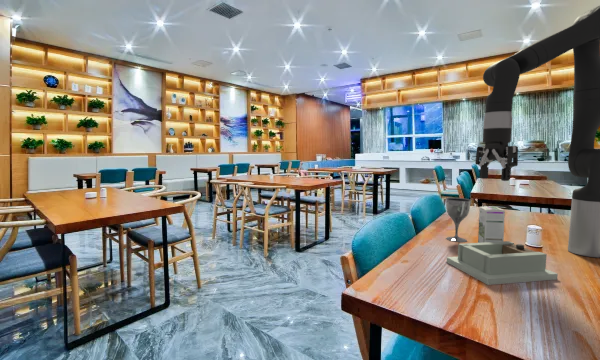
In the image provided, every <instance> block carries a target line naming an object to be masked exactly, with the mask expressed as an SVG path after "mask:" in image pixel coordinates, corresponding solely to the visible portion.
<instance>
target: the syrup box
mask: <svg viewBox="0 0 600 360" xmlns="http://www.w3.org/2000/svg"><path fill="white" fill-rule="evenodd" d="M505 215H506V211H505V209H503V208H500V207H498V206H479V213H478V233H477V237H478V238H477V243H483V242H502V241H504V239H505Z"/></svg>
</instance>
